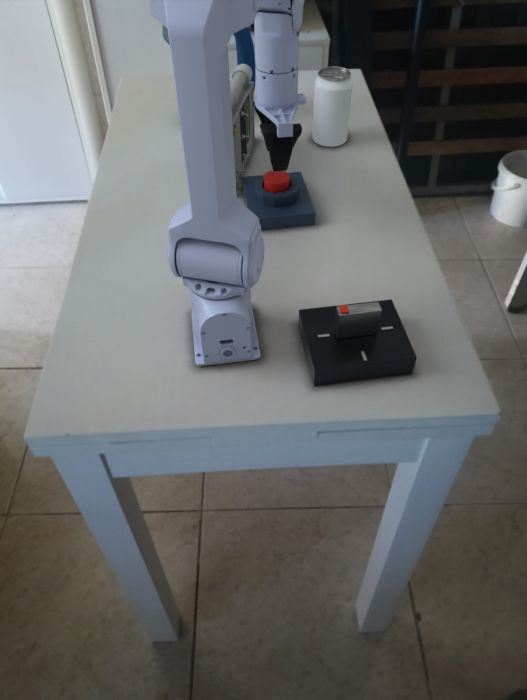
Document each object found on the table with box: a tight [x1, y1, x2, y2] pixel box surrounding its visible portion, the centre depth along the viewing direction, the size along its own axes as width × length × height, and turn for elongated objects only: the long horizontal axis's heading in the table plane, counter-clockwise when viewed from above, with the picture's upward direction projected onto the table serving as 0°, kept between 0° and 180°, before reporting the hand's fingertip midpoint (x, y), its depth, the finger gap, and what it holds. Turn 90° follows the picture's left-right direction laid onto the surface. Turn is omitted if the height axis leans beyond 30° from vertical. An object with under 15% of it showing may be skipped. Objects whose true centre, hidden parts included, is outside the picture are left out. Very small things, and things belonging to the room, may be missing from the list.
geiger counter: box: [230, 64, 256, 185], centre depth 96 cm, size 14×6×25 cm
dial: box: [334, 301, 382, 339], centre depth 67 cm, size 5×2×4 cm, turn 98°
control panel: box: [297, 299, 417, 387], centre depth 70 cm, size 12×10×3 cm
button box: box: [240, 171, 316, 231], centre depth 90 cm, size 12×10×4 cm
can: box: [311, 65, 353, 149], centre depth 101 cm, size 6×6×12 cm
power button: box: [263, 169, 290, 193], centre depth 88 cm, size 4×4×2 cm
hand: (276, 159), depth 85 cm, fingers open, 5 cm apart
